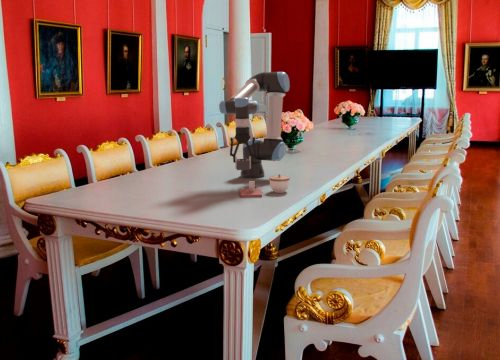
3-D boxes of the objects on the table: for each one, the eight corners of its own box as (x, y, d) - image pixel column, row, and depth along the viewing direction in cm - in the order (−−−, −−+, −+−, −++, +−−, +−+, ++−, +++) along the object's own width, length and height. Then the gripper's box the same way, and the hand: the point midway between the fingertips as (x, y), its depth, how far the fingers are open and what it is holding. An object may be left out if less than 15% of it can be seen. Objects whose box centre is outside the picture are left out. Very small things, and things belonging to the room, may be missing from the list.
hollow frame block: (236, 167, 293) (236, 158, 292) (249, 167, 293) (249, 158, 293) (236, 170, 286) (236, 160, 285) (249, 169, 286) (249, 160, 285)
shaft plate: (240, 191, 285) (240, 178, 284) (260, 190, 285) (260, 178, 284) (240, 197, 270) (240, 184, 268) (262, 196, 270) (262, 184, 269)
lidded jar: (273, 194, 276) (272, 176, 274) (266, 190, 286) (266, 173, 285) (292, 193, 279) (292, 175, 277) (285, 189, 289) (285, 172, 287)
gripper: (223, 127, 281) (224, 169, 286) (261, 126, 282) (261, 169, 286) (224, 126, 289) (225, 167, 293) (260, 125, 289) (261, 166, 293)
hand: (243, 168), depth 289 cm, fingers closed on hollow frame block, 7 cm apart
